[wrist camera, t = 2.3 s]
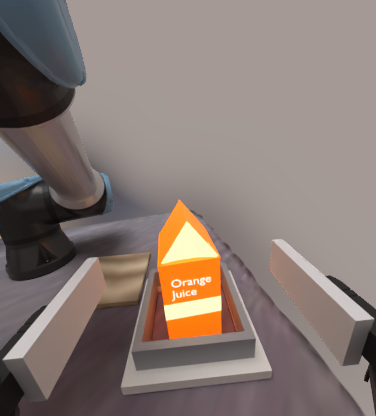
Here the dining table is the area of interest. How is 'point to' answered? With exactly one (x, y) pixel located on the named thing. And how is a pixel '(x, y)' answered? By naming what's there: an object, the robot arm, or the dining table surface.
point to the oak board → (123, 279)
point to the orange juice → (189, 276)
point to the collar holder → (193, 348)
